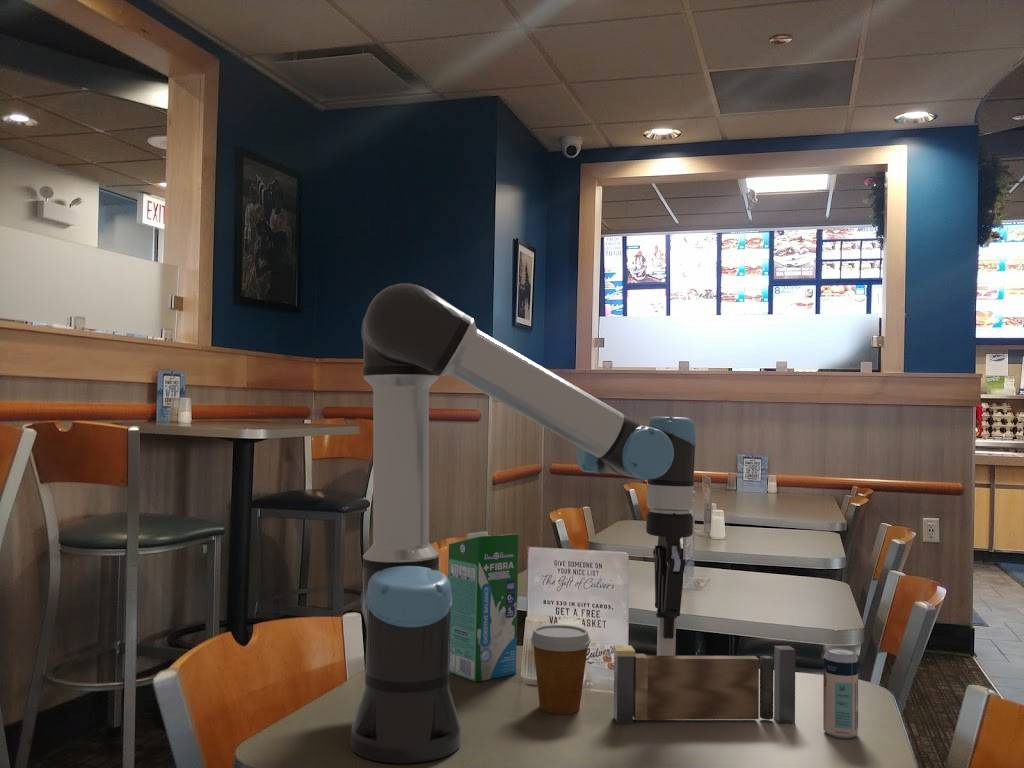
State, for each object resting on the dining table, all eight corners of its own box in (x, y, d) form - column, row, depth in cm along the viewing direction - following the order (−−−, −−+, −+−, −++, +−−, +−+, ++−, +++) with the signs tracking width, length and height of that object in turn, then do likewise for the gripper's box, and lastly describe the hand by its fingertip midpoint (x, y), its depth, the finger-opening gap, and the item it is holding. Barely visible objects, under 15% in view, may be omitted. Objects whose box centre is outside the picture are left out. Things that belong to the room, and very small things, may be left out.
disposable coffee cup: (586, 720, 136) (587, 639, 137) (524, 715, 138) (525, 635, 138) (593, 701, 145) (594, 626, 146) (535, 696, 147) (536, 622, 148)
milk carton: (485, 663, 167) (487, 527, 168) (516, 674, 160) (519, 532, 161) (445, 671, 162) (448, 530, 163) (476, 682, 155) (479, 536, 156)
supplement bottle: (842, 727, 135) (842, 646, 135) (865, 737, 130) (865, 654, 131) (816, 730, 133) (816, 648, 134) (838, 741, 129) (839, 656, 129)
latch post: (615, 724, 134) (616, 651, 135) (612, 716, 138) (612, 645, 138) (634, 724, 134) (635, 651, 135) (630, 716, 138) (631, 645, 138)
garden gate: (770, 714, 139) (770, 654, 139) (775, 719, 136) (775, 658, 137) (632, 714, 137) (632, 653, 138) (635, 719, 135) (635, 657, 135)
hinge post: (779, 723, 136) (779, 649, 137) (774, 718, 139) (774, 645, 139) (795, 723, 136) (795, 649, 137) (789, 718, 139) (789, 645, 139)
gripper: (702, 515, 141) (698, 668, 140) (683, 508, 154) (679, 647, 153) (655, 514, 141) (650, 667, 140) (639, 506, 154) (635, 646, 153)
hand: (665, 656), depth 146 cm, fingers closed
